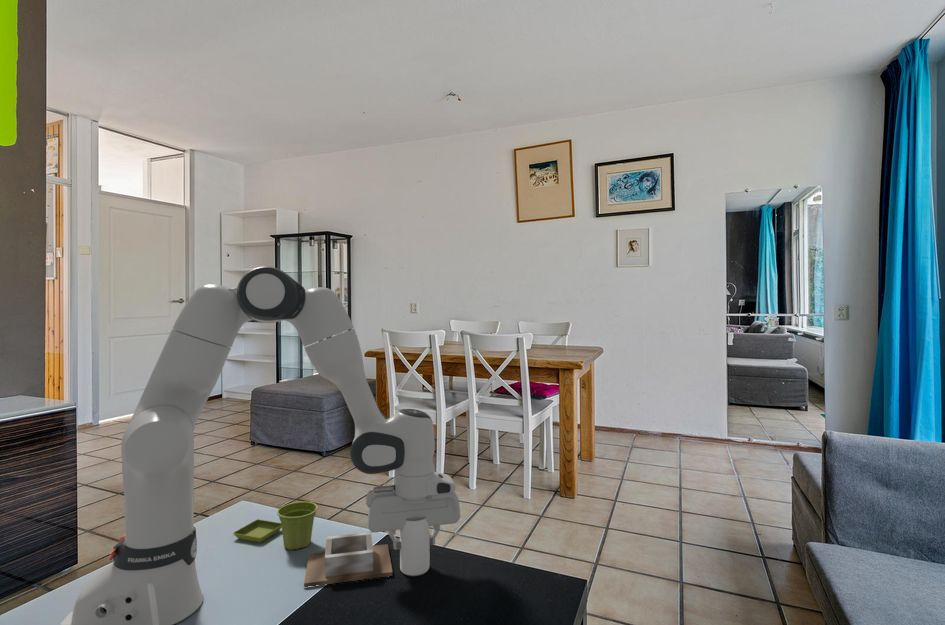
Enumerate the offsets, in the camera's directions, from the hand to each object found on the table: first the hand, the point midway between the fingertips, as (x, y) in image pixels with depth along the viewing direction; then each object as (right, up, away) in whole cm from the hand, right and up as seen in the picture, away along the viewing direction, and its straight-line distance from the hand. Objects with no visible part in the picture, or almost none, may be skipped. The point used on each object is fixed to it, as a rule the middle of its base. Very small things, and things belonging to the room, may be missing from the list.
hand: (414, 546), depth 108 cm
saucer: (-42, -6, +17) cm, 45 cm away
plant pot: (-30, -5, +12) cm, 33 cm away
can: (0, -5, 0) cm, 5 cm away
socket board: (-15, -6, +1) cm, 16 cm away
